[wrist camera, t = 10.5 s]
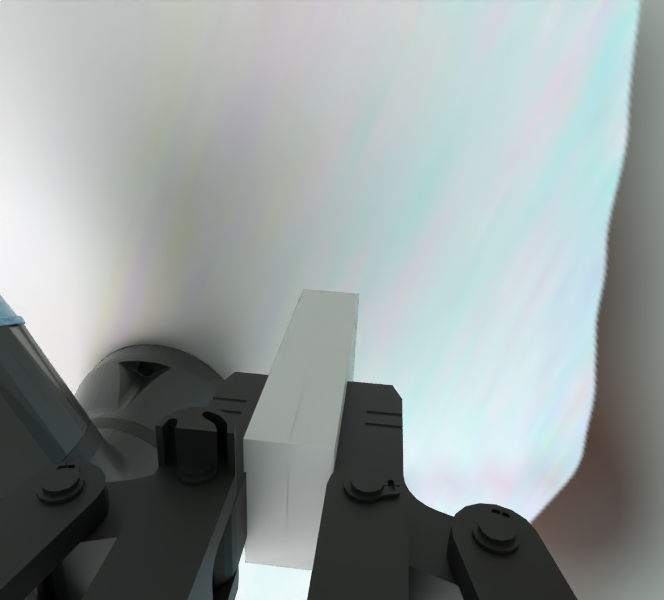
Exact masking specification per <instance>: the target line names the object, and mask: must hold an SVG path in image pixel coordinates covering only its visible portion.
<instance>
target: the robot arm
mask: <svg viewBox="0 0 664 600" xmlns="http://www.w3.org/2000/svg"><path fill="white" fill-rule="evenodd" d="M358 302H359V294H352V293H340V292H328V291H316V290H304V289H303V291H302V294H301V296H300V299H299V301H298V304H297V306H296V309H295V311H294V314H293V316H292V319H291V321H290V324H289V326H288V329H287V331H286V334H285V336H284V339H283V341H282V344H281V346H280V349H279V351H278V354H277V356H276V359H275V361H274V364H273V366H272V369H271V371H270V374H269V375H262V374H251V373H241V372H235V373H233V374H232V375H231V376H229V377H228V378H227V379H225V380H224V381H223V379H222V378H221V377H220V376H219V375H218V374H217V373H216V372H215V371H214V370H212V369H211V368H210V367H209V366H208V365H206V364H205V363H203V362H202V361H200V360H199V359H197V358H195V357H193V356H191V355H189V354H187V353H185V352H182V351H179V350H176V349H173V348H169V347H164V346H158V345H138V346H132V347H127V348H124V349H121V350H118V351H116V352H114V353H112V354H110V355H108V356H107V357H106V358H104V359H103V360H102V361H101V362H100V363H99V364H98V365H97V366H96V367H95V368H94V369H93V370H92V371H91V372H90V373H89V374H88V375H87V376H86V377H85V379H84V380H83V381H82V383H81V384H80V386H79V388H78V390H77V392H76V394H75V396H74V395H73V394H72V392H71V391H70V389H69V388H68V387H67V385H66V384H65V382H64V381H63V380H62V378H61V377H60V375H59V374H58V373H57V371H56V370H55V368H54V367H53V366H52V364H51V363H50V362H49V360H48V359H47V357H46V356H45V355H44V353H43V352H42V350H41V349H40V347H39V346H38V344H37V343H36V342H35V340H34V339H33V337H32V336H31V334H30V333H29V331H28V330H27V328H26V327H25V325H24V324H25V323H26V322H25V321H24V319H23V318H22V317H21V316H17V315H16V314H15V313H14V311H13V310H12V309H11V308H10V306H9V305H8V304H7V303H6V302H5V300H4V299H3V298H2V297H1V295H0V600H235V597H236V593H237V590H238V580H239V569H238V564H239V561H240V557H241V554H242V551H243V548H244V545H245V562H247V563H255V564H263V565H272V566H280V567H288V568H296V569H305V570H312V575H311V580H310V586H309V592H308V598H307V600H577V598H576V596H575V595H574V593H573V591H572V590H571V588H570V586H569V585H568V583H567V581H566V580H565V578H564V576H563V575H562V573H561V571H560V570H559V568H558V566H557V565H556V563H555V561H554V560H553V558H552V556H551V555H550V553H549V551H548V550H547V548H546V546H545V545H544V543H543V541H542V540H541V538H540V536H539V535H538V533H537V531H536V530H535V529H534V528H533V527H532V526H531V524H530V523H529V522H528V521H527V520H526V519H525V518H523V517H521V516H520V515H518V514H517V513H515V512H514V511H512V510H510V509H507V508H504V507H501V506H498V505H494V504H482V503H479V504H474V505H470V506H466V507H464V508H463V509H462V510H460V511H459V512H458V513H456V514H455V517H453V516H450V515H447V514H445V513H442V512H439V511H437V510H435V509H432V508H430V507H428V506H426V505H425V504H423V503H422V502H420V501H419V500H417V499H416V498H415V497H414V496H413V495H412V493H411V492H410V491H409V490H408V488H407V486H406V484H405V481H404V476H403V429H402V427H403V425H402V398H401V397H400V395H399V394H398V393H397V391H396V390H395V388H394V387H393V385H383V384H372V383H362V382H353V371H354V358H355V344H356V330H357V316H358Z"/></svg>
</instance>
